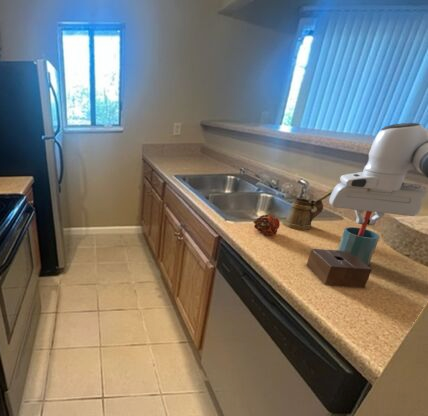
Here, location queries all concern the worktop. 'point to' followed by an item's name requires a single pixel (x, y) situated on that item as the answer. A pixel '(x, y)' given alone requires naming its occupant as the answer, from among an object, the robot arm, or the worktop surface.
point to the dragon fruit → (267, 224)
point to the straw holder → (338, 268)
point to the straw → (364, 223)
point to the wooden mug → (304, 212)
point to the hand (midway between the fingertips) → (364, 223)
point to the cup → (359, 243)
